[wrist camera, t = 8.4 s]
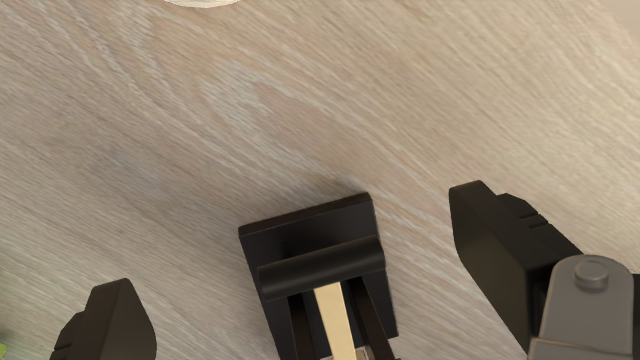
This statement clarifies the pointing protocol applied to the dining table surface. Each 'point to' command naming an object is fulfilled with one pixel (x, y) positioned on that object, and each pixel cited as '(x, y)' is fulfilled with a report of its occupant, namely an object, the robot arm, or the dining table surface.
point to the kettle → (2, 350)
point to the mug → (201, 3)
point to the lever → (326, 284)
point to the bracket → (302, 309)
